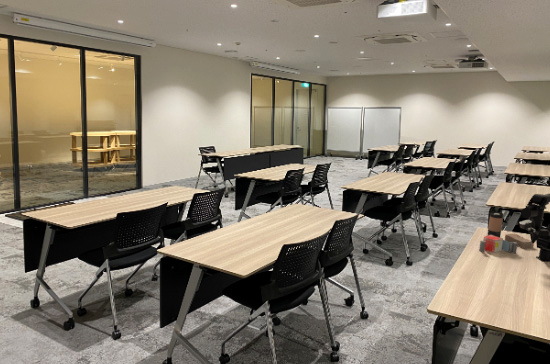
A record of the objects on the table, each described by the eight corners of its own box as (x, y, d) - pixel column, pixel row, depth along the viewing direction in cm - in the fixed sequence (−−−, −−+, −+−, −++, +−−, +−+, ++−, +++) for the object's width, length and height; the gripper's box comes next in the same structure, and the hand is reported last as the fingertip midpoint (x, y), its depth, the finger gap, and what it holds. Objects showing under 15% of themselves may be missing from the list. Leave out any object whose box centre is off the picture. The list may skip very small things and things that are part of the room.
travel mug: (497, 241, 281) (502, 212, 277) (500, 245, 274) (504, 215, 270) (485, 240, 283) (489, 211, 279) (487, 243, 276) (491, 214, 272)
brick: (534, 248, 271) (535, 241, 270) (523, 248, 269) (524, 241, 268) (514, 240, 287) (515, 233, 286) (503, 240, 285) (504, 233, 284)
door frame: (516, 253, 259) (517, 243, 258) (480, 252, 260) (482, 241, 258) (514, 252, 262) (515, 242, 260) (479, 250, 262) (480, 240, 261)
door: (509, 253, 259) (510, 243, 257) (483, 245, 272) (484, 235, 271) (511, 252, 260) (513, 242, 259) (485, 244, 274) (487, 235, 272)
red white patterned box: (494, 252, 260) (496, 240, 258) (482, 248, 266) (483, 236, 265) (501, 250, 264) (503, 238, 262) (489, 246, 270) (490, 234, 269)
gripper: (513, 211, 249) (510, 237, 252) (532, 220, 230) (527, 247, 233) (533, 212, 248) (529, 237, 251) (552, 221, 230) (548, 248, 233)
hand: (532, 242), depth 242 cm, fingers closed
